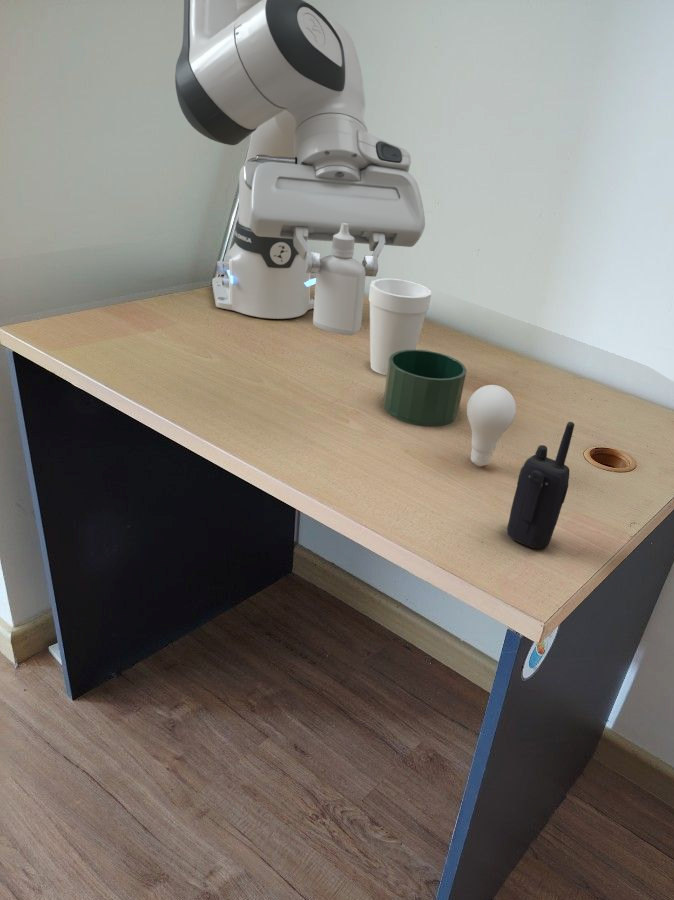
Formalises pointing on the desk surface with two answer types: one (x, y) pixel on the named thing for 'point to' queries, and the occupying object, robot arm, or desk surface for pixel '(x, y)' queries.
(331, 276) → the eye dropper bottle
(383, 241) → the robot arm
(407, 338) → the foam cup
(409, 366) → the tin
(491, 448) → the lightbulb
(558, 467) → the two-way radio
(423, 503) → the desk surface
